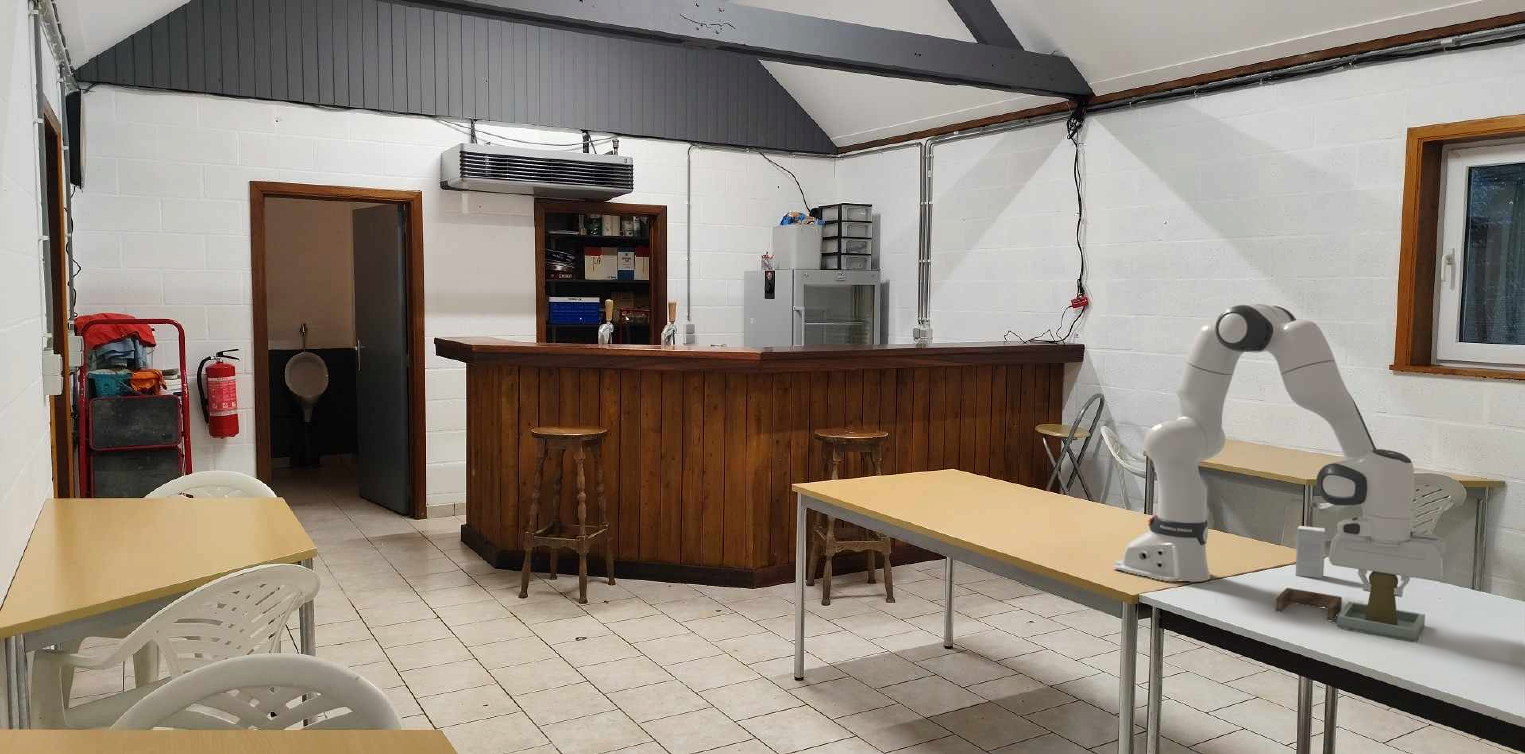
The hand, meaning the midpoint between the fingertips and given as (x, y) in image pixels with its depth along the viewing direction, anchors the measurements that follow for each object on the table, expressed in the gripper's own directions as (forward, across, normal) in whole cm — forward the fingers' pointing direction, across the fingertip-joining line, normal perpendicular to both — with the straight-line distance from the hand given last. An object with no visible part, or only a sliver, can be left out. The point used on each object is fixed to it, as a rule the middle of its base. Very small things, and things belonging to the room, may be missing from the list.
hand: (1382, 593), depth 211 cm
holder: (+7, +14, -2) cm, 16 cm away
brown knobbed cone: (+6, 0, 0) cm, 7 cm away
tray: (+7, 0, 0) cm, 7 cm away
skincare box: (+7, +20, -36) cm, 42 cm away
